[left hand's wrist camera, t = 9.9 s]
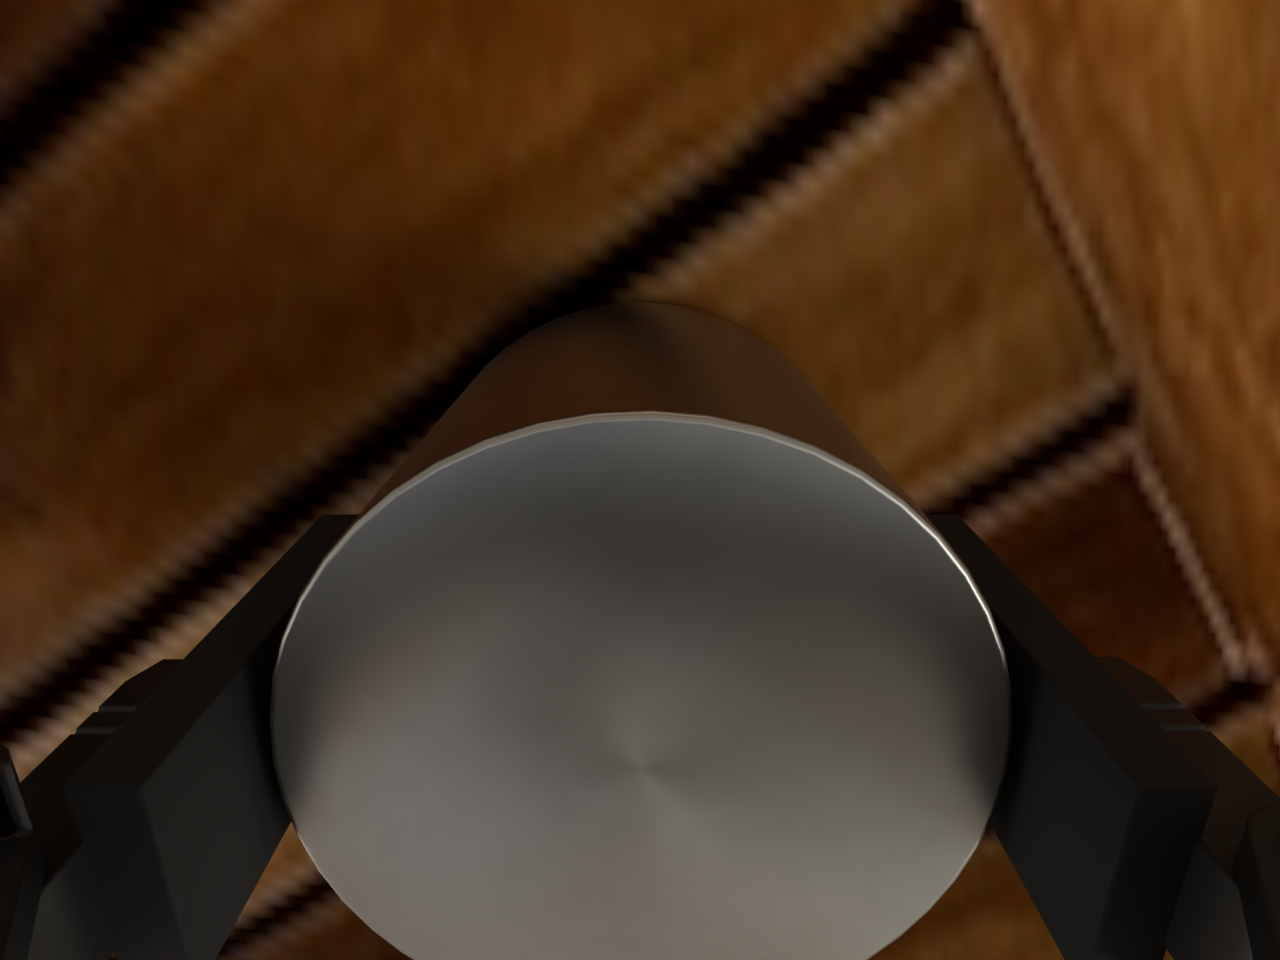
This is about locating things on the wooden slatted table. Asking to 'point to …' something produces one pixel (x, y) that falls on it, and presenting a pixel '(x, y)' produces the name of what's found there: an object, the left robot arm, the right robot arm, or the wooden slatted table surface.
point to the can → (640, 668)
